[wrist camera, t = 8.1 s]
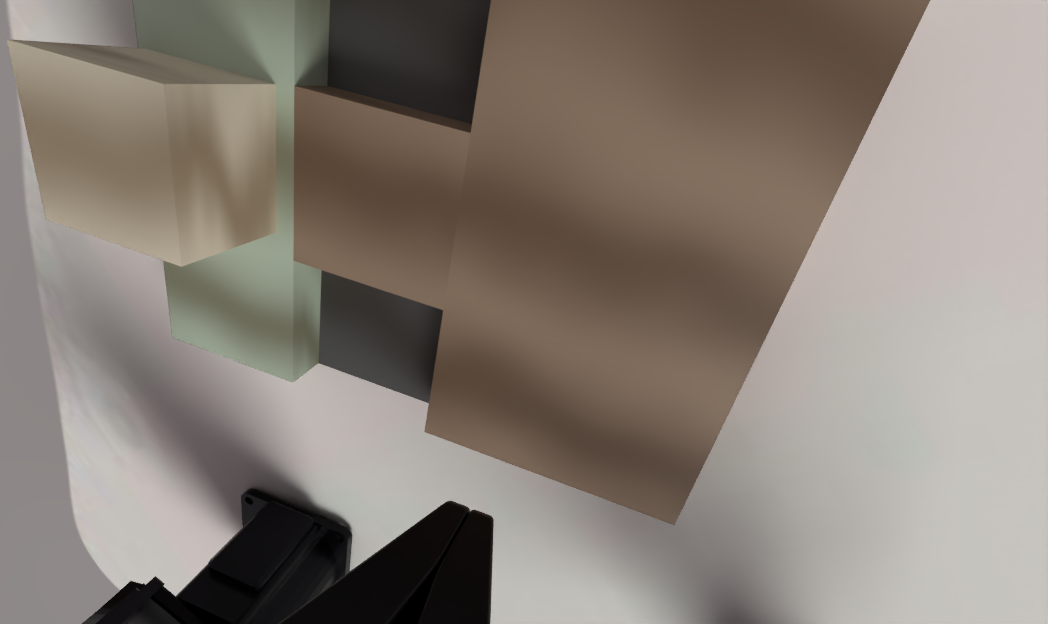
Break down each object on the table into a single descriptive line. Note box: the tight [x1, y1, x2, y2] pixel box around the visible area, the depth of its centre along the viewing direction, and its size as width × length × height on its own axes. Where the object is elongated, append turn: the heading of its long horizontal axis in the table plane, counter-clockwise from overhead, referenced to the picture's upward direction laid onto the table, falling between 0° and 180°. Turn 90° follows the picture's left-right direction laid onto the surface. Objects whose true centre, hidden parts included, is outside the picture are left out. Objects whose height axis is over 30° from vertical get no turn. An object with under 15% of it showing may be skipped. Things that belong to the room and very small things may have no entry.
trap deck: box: [132, 0, 930, 525], centre depth 18 cm, size 17×22×2 cm
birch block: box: [7, 40, 277, 267], centre depth 16 cm, size 5×5×4 cm
